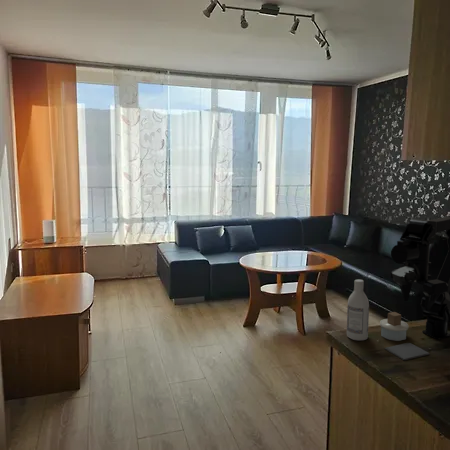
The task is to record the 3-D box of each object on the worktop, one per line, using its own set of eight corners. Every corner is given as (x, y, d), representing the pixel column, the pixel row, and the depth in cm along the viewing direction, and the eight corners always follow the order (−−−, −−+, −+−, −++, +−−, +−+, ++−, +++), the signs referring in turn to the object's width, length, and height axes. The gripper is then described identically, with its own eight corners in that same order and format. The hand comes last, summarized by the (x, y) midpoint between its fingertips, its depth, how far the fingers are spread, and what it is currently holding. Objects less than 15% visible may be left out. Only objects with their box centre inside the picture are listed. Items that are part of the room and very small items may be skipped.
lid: (394, 319, 144) (395, 307, 143) (414, 328, 135) (415, 316, 135) (374, 323, 141) (374, 311, 140) (393, 333, 132) (393, 320, 132)
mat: (409, 343, 132) (409, 342, 132) (429, 354, 125) (429, 353, 125) (384, 349, 129) (384, 347, 129) (403, 360, 121) (403, 358, 121)
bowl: (394, 329, 144) (394, 320, 143) (411, 338, 136) (411, 328, 136) (376, 333, 141) (376, 323, 140) (392, 342, 134) (393, 332, 133)
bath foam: (357, 331, 143) (359, 276, 140) (372, 338, 137) (374, 281, 134) (342, 335, 140) (343, 279, 137) (356, 342, 134) (358, 284, 131)
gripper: (378, 254, 134) (376, 299, 137) (420, 268, 117) (418, 319, 119) (405, 251, 138) (403, 295, 140) (450, 264, 120) (447, 314, 123)
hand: (416, 305), depth 130 cm, fingers open, 9 cm apart
